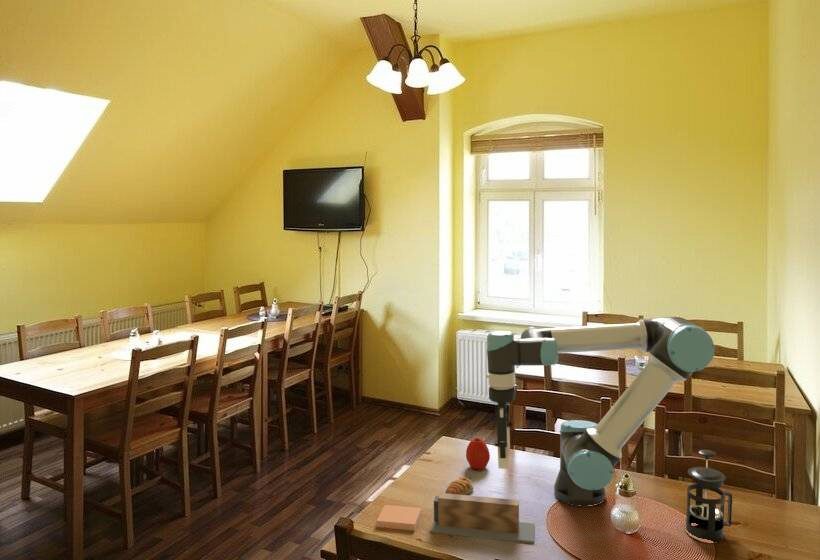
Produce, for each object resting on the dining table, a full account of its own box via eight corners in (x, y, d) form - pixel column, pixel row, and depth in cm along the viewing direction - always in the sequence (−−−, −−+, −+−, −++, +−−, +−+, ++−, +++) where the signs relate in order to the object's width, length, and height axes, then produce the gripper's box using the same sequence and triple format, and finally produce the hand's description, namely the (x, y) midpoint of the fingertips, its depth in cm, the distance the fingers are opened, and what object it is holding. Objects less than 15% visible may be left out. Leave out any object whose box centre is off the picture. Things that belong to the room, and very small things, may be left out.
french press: (689, 543, 152) (692, 458, 150) (677, 524, 162) (679, 444, 159) (737, 544, 151) (740, 459, 148) (722, 525, 160) (725, 445, 158)
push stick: (519, 527, 161) (518, 499, 160) (518, 533, 158) (518, 505, 157) (436, 519, 166) (435, 492, 165) (434, 524, 163) (433, 497, 162)
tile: (421, 508, 170) (384, 504, 172) (414, 524, 161) (376, 520, 164) (421, 515, 170) (385, 512, 173) (415, 532, 161) (376, 528, 164)
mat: (534, 525, 163) (534, 523, 162) (533, 543, 154) (533, 541, 154) (436, 515, 169) (435, 513, 169) (429, 532, 160) (429, 530, 160)
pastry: (457, 502, 177) (457, 490, 176) (439, 496, 181) (439, 484, 181) (475, 491, 184) (474, 479, 184) (457, 485, 188) (457, 473, 188)
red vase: (463, 463, 204) (463, 433, 203) (486, 461, 205) (486, 432, 204) (468, 473, 196) (468, 442, 195) (492, 471, 197) (492, 441, 196)
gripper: (491, 373, 178) (493, 440, 180) (485, 399, 154) (488, 476, 156) (516, 373, 176) (518, 441, 179) (514, 400, 152) (516, 477, 154)
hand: (504, 458), depth 167 cm, fingers open, 13 cm apart
